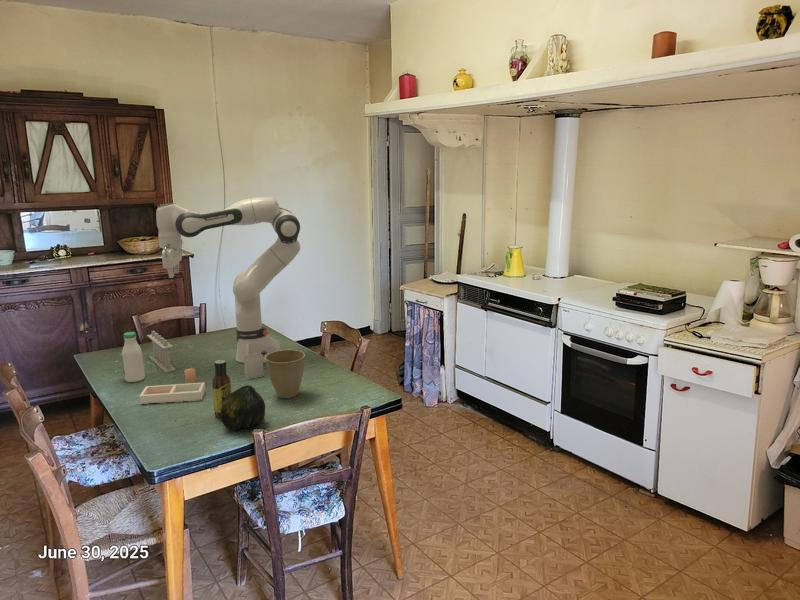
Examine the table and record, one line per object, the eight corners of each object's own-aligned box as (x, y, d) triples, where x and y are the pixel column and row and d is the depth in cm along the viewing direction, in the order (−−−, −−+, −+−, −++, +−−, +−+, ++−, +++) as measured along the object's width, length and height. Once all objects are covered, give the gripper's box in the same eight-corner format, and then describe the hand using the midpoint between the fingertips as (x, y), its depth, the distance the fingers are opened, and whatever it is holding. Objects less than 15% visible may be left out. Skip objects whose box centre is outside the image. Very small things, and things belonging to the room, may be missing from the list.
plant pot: (262, 392, 236) (259, 353, 232) (298, 385, 243) (296, 347, 240) (275, 406, 224) (272, 364, 220) (313, 397, 231) (310, 357, 227)
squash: (206, 412, 206) (225, 385, 199) (239, 398, 218) (258, 373, 211) (229, 445, 202) (249, 419, 195) (261, 429, 215) (281, 405, 207)
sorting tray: (205, 390, 239) (204, 382, 238) (201, 400, 230) (200, 391, 229) (146, 394, 236) (145, 386, 235) (140, 405, 226) (139, 396, 225)
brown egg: (196, 381, 249) (195, 367, 248) (195, 385, 245) (193, 371, 244) (186, 382, 248) (185, 368, 247) (184, 385, 245) (183, 371, 243)
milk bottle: (149, 377, 255) (143, 331, 250) (134, 383, 248) (128, 336, 243) (135, 374, 258) (130, 329, 253) (120, 381, 251) (114, 334, 246)
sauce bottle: (225, 419, 213) (220, 365, 208) (211, 417, 215) (205, 363, 210) (236, 412, 218) (232, 359, 214) (222, 410, 221) (217, 357, 216)
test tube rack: (176, 370, 263) (173, 341, 260) (165, 372, 260) (162, 343, 257) (159, 356, 282) (156, 328, 279) (149, 358, 280) (146, 330, 277)
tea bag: (263, 376, 254) (262, 353, 251) (247, 379, 250) (246, 356, 248) (260, 374, 257) (259, 351, 254) (245, 377, 253) (243, 354, 251)
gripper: (172, 246, 244) (176, 279, 247) (183, 239, 264) (186, 270, 267) (156, 246, 243) (160, 280, 246) (167, 239, 263) (171, 271, 266)
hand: (174, 275), depth 257 cm, fingers open, 8 cm apart
